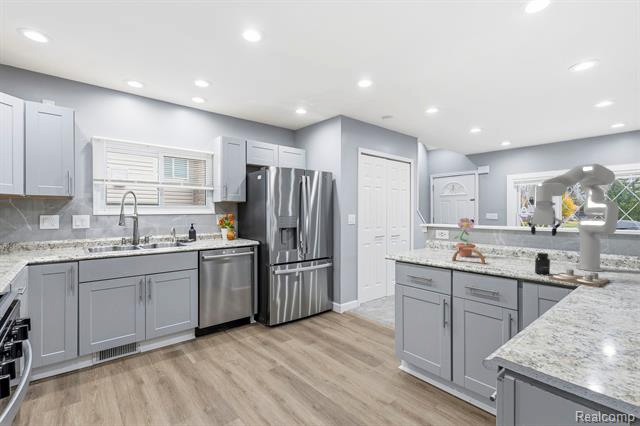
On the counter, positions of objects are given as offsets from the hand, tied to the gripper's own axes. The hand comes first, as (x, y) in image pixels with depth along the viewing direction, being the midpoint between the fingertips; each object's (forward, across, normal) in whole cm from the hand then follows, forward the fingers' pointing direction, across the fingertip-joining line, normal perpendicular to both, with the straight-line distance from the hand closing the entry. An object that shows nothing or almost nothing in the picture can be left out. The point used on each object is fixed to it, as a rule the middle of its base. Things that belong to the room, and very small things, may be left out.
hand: (543, 235), depth 172 cm
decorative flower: (+23, +60, -25) cm, 69 cm away
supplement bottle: (+23, 0, 0) cm, 23 cm away
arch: (+23, +45, -3) cm, 51 cm away
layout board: (+22, -17, +2) cm, 28 cm away
